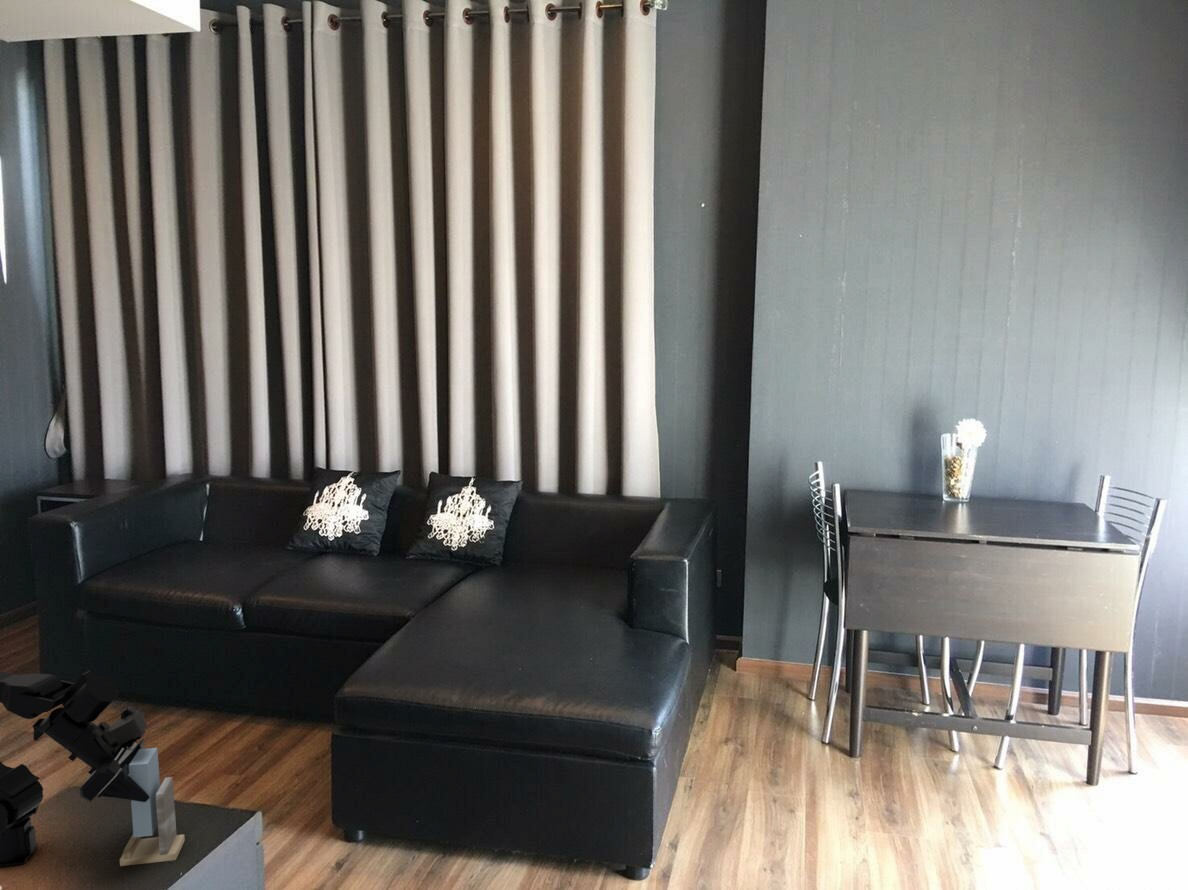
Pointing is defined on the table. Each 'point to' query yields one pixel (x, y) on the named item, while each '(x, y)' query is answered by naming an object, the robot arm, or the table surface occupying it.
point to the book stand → (167, 841)
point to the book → (147, 778)
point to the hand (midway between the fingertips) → (152, 790)
